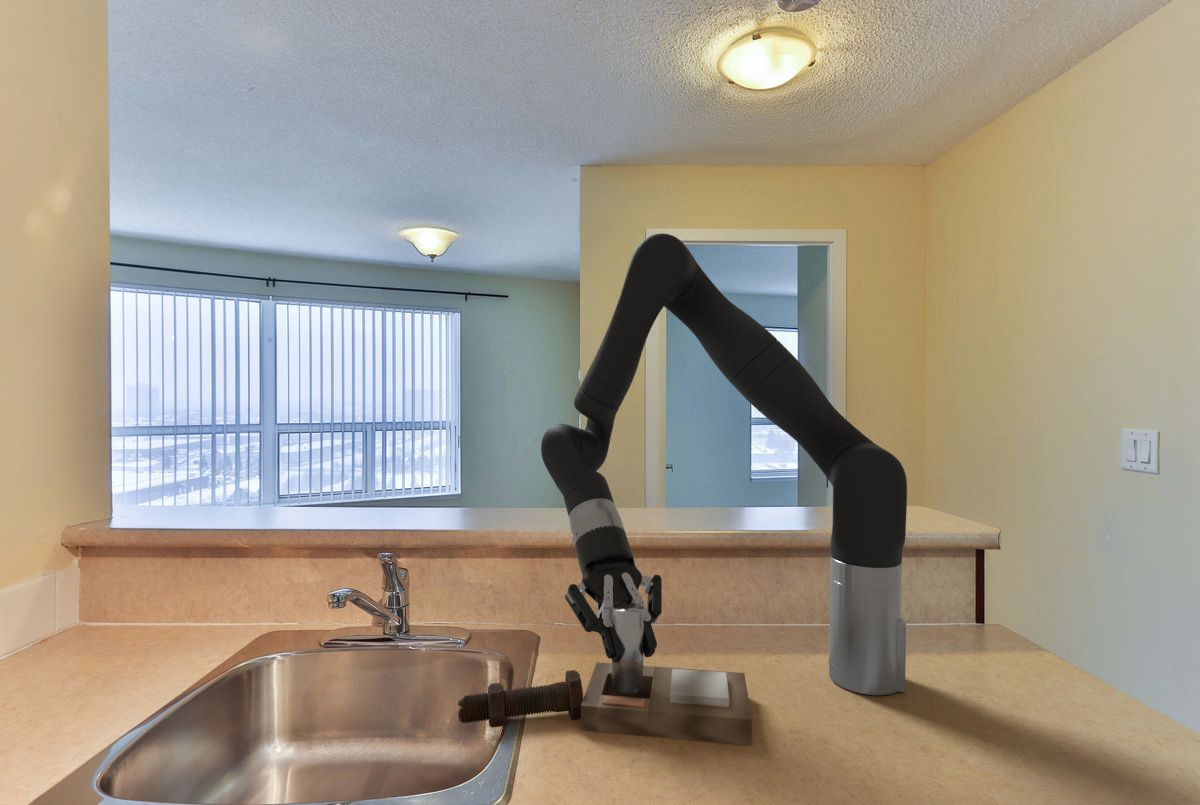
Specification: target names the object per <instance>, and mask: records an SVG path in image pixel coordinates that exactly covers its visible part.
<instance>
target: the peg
mask: <svg viewBox="0 0 1200 805" xmlns="http://www.w3.org/2000/svg"><path fill="white" fill-rule="evenodd" d="M613 627H614V628H615V631H616V633H617V637H618V640H619V644H620V648H621V651H622V658H621V659H620V661H619V662H616V663H613V662H612V661H611V663H612V688H613V689H614V690H616V691H618V692H621V693H636V692H638V691H640V690H642V688H643V666H644V653H643V641H644V608H643V607H642V606H641V605H639V604H634V603H620V604H616V605H614V606H613V607H612V628H613Z"/></svg>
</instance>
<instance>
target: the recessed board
mask: <svg viewBox="0 0 1200 805" xmlns="http://www.w3.org/2000/svg"><path fill="white" fill-rule="evenodd" d="M750 704H751V703H750V698H749V693H748V686H747V680H746V675H745V672H737V671H734V672H733V671H724V670H722V671H720V670H707V669H692V668H681V667H680V668H679V667H668V666H667V667H666V666H665V667H664V666H651V665H643V688H642V690H640V691H638V692H636V693H621V692H618V691H616V690H614V689H613V688H612V662H598V661H597V662H596V663H595V666H594V668H593V671H592V674H591V677H590V680H589V683H588V686H587V688H586V690H585V693H584V695H583V701H582V704H581V719H580V731H584V732H594V733H595V732H596V733H607V734H608V733H609V734H619V735H629V736H641V737H651V738H663V739H675V740H686V741H698V742H708V743H719V744H720V743H721V744H729V745H741V746H750V747H751V746H753V716H752V710H751V705H750Z"/></svg>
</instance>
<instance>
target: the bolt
mask: <svg viewBox="0 0 1200 805" xmlns="http://www.w3.org/2000/svg"><path fill="white" fill-rule="evenodd" d="M564 679H565V680H564V681H559V682H554V683H550V684H542V685H536V686H528V687H527V686H526V687H525V688H524V687H522V688H521V687H520V688H514V689H513V688H512V689H509V690H508V689H506V690H505V689H504V685H503V684H502V683H501V682H496V683H490V684H489V685H488V687H487V693H486V692H482V693H481V692H480V693H476V694H475V693H473V694H472V693H471V694H467V695H466V694H465V695H464V696H463V698H461V699H459V700H458V703H457V705H458V706H459V709H458V711H457V712H458V714H457V716H458V720H459V722H460V723H462V725H463V724H469V723H470V724H471V723H477V722H478V723H479V722H483V721H484V722H486V721H488V726H489V727H490V728H499V727H500V728H501V727H503V726H504V725H505V724H506V719H508V718H511V717H512V718H514V717H515V718H516V717H522V716H523V717H524V716H527V715H528V716H530V715H531V716H533V714H534V715H538V714H540V715H541V714H546V713H548V714H549V713H552V712H553V713H563V712H568V716H569V719H570V721H577V720H581V704H582V701H583V698H584V690H583V684H582V678H581V675H580V673H579V671H577V670H575V669H573V670H566V671H565V678H564Z"/></svg>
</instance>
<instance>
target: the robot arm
mask: <svg viewBox="0 0 1200 805" xmlns="http://www.w3.org/2000/svg"><path fill="white" fill-rule="evenodd" d="M664 308H665V309H667V310H668V311H669V312H670V313H671V314H673V315H674V316H675V317H676V318H677V319H678V320H679V321H680V322H682V324H683V325H685V326H686V327H687V328H688V329H689V330H690V331H691V332H692V334H693V335H694V336H695V338H696V339H697V340H698V342H699V343H700V345H701V346H702V348H703V349H704V350H705V352H706V353H707V355H708V356H709V358H710V359H711V361H712V362H713V364H714V365H715V366H716V368H717V369H718V370H719V371H720V372H721V373H722V375H723V376H724V377H725V378H726V379H727V381H729V383H731V385H732V386H733V387H734V388H735V389H736V390H737V391H738V392H739V393H740V394H741V395H742V396H743V397H744V399H745V400H746V401H747V402H748V403H750V404H751V405H752V406H753V407H754V408H755V409H756V410H757V411H758V412H759V413H761V414H762V415H763V416H764V417H766V418H767V419H768V420H769V421H771V423H773V425H775V426H777V428H779V429H781V430H782V431H783V432H785V434H787V435H789V436H790V437H791V438H792V439H794V441H796V443H797V444H799V446H801V448H802V449H803V450H804V451H805V452H806V453H807V454H808V455H809V457H810V458H811V459H812V461H813V462H814V463H815V464H816V465H817V467H818V468H819V469H820V471H822V473H823V474H824V476H825V477H826V478H827V481H829V482H830V484H831V486H832V527H831V537H830V568H829V569H830V574H829V575H830V576H829V577H830V581H829V586H830V588H829V595H830V596H829V642H828V643H829V644H828V647H829V648H828V650H829V651H828V657H829V658H828V675H829V677H830V679H831V681H833V682H834V683H835V684H836V685H838V686H840V687H841V688H843V689H846V690H847V691H852V692H854V693H858V694H861V695H863V694H864V695H868V696H869V695H870V696H887V695H891V694H894V693H895V694H896V693H905V692H906V669H907V668H906V662H907V660H906V659H907V658H906V657H907V656H906V655H907V654H906V653H907V651H906V650H907V623H906V621H905V620H904V619H903V618H902V580H903V579H902V576H903V574H902V573H903V572H902V571H903V567H902V566H903V550H904V547H905V543H906V536H907V533H906V532H907V509H908V508H907V506H908V481H907V474H906V471H905V469H904V466H903V464H902V463H901V462H900V460H899V459H898V457H897V456H895V455H894V454H892V453H891V452H890V451H888V450H887V449H885V448H883V447H881V446H880V445H878V444H876V443H875V442H873V440H871V439H870V438H868V437H867V436H866V434H864V433H862V432H861V431H860V430H859V429H858V428H856V427H855V426H854V425H853V423H851V422H850V421H848V420H847V419H846V418H845V417H844V416H843V415H842V414H841V413H840V412H839V411H838V410H837V409H836V408H835V407H834V406H833V405H832V403H831V402H830V401H829V399H828V398H827V396H826V395H825V393H824V392H823V391H822V389H821V388H820V386H819V385H818V384H817V382H816V381H815V380H814V379H813V377H812V376H811V374H810V373H809V372H808V371H807V370H806V368H805V367H804V366H803V365H802V363H801V362H800V361H799V360H798V359H797V358H796V356H794V355H793V354H792V353H791V351H789V350H788V348H786V346H784V345H783V343H782V342H781V341H779V340H778V339H777V338H776V337H775V335H773V334H772V333H771V332H770V331H769V330H768V329H766V328H765V327H764V326H763V324H762V325H761V323H760V322H758V321H757V320H756V319H755V318H753V317H752V316H750V315H749V314H747V313H746V312H745V311H743V310H742V309H741V308H739V307H738V306H736V305H735V304H734V303H733V302H732V301H730V300H729V299H728V298H727V297H726V296H725V295H724V294H723V293H722V292H721V291H720V290H719V289H718V287H717V286H716V285H715V284H714V283H713V281H712V280H711V279H710V278H709V277H708V275H707V274H706V273H705V272H704V270H703V269H702V267H701V266H700V265H699V263H698V262H697V261H696V259H695V257H694V255H693V254H692V253H691V251H690V250H689V248H688V247H687V246H686V244H684V242H683V241H682V240H680V239H679V238H678V237H677V236H675V235H672V234H669V233H655V234H652V235H648V237H645V239H643V240H642V241H640V242H639V244H638V245H637V246H636V247H635V249H634V251H633V254H632V257H631V259H630V263H629V266H628V269H627V271H626V274H625V277H624V282H623V285H622V288H621V292H620V295H619V299H618V300H617V304H616V306H615V310H614V311H613V315H612V317H611V320H610V322H609V324H608V327H607V330H606V331H605V335H604V337H603V338H602V341H601V343H600V344H599V347H598V349H597V352H596V354H595V356H594V358H593V360H592V362H591V364H590V366H589V367H588V370H587V372H586V374H585V376H584V378H583V380H582V382H581V384H580V386H579V389H578V390H577V392H576V394H575V397H574V400H573V405H574V408H575V410H577V412H578V413H580V414H581V415H583V416H584V417H585V418H586V425H585V426H586V427H585V428H583V429H582V428H580V427H576V426H573V425H571V424H566V423H555V424H553V425H552V426H550V427H549V428H548V429H547V430H546V431H545V432H544V434H543V437H542V439H541V444H540V452H541V458H542V462H543V464H544V466H545V468H546V470H547V472H548V474H549V475H550V478H552V481H553V482H554V484H555V486H556V487H557V488H558V490H559V492H560V493H561V494H562V497H563V501H564V504H565V508H566V511H567V515H568V518H569V519H568V520H569V530H570V533H571V542H572V544H573V547H574V550H575V553H576V557H577V561H578V565H579V569H580V572H581V575H582V580H581V582H580V583H578V584H575V583H571V584H570V585H569V586H568V588H567V590H566V592H565V595H564V599H565V601H566V602H567V604H568V605H569V606H570V609H571V610H572V612H573V614H574V615H575V616H576V618H577V620H578V621H579V623H580V625H581V626H582V627H583V629H584V631H585V632H587V633H592V632H594V633H598V634H599V635H600V638H601V640H602V645H603V647H604V648H603V649H604V651H605V655H606V657H607V658H608V659H611V663H612V662H613V663H616V662H619V661H620V659H621V658H622V651H621V648H620V644H619V640H618V637H617V633H616V631H615V628H614V627H613V628H612V607H613V606H614V605H616V604H620V603H634V604H639V605H641V606H642V607H643V608H644V641H643V657H645V658H651V657H652V656H653V655H654V654H655V652H656V648H657V647H658V642H657V639H656V636H655V633H654V630H653V626H652V624H654V623H656V622H657V620H658V618H659V617H660V616H661V614H662V610H663V609H662V606H663V604H662V600H663V599H662V596H663V595H662V593H663V592H662V591H663V590H662V588H663V587H662V586H663V585H662V577H661V575H660V574H654V575H653V576H647V575H643V574H642V572H641V571H640V570H639V569H638V568H637V566H636V564H635V558H634V554H633V552H632V549H631V545H630V543H629V539H628V535H627V533H626V530H625V527H624V524H623V521H622V518H621V516H620V513H619V511H618V510H617V508H616V505H615V502H614V499H613V495H612V492H611V489H610V487H609V484H608V481H607V479H606V477H605V476H604V475H602V474H601V473H600V472H598V470H599V469H600V468H602V466H603V464H604V463H605V461H606V459H607V456H608V452H609V447H610V443H611V437H612V434H613V429H614V424H615V419H616V416H617V413H618V411H619V410H620V408H621V405H622V403H623V401H624V399H625V397H626V396H627V393H628V391H629V389H630V387H631V386H632V383H633V382H634V378H635V376H636V374H637V370H638V367H639V364H640V361H641V356H642V354H643V350H644V347H645V344H646V342H647V340H648V339H647V338H648V336H649V335H650V331H651V329H652V327H653V325H654V324H655V322H656V320H657V318H658V316H659V314H660V313H661V311H662V310H663V309H664ZM640 586H641V587H643V591H644V594H646V595H647V604H646V606H647V607H646V606H645V604H644V599H643V597H642V595H641V594H640V593H641V592H639V588H640ZM587 595H588V596H589V598H591V599H592V600H593V601H595V602H596V612H597V614H596V613H595V611H594V610H593V609H592V607H591V605H590V604H589V602H588V601H587V599H586V596H587Z"/></svg>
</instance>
